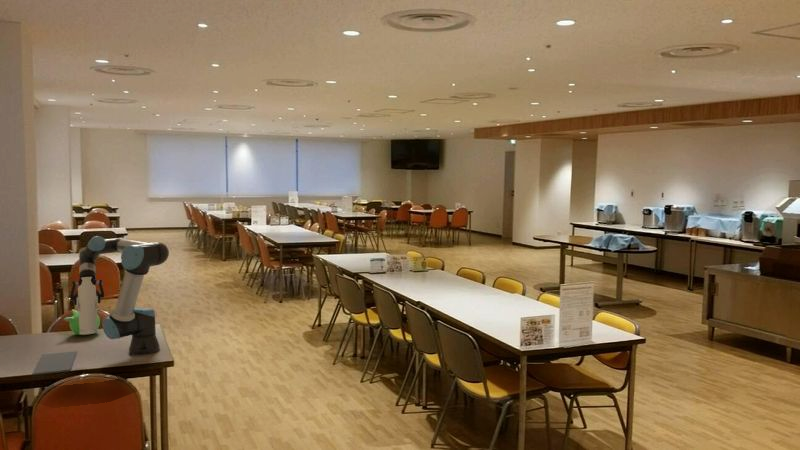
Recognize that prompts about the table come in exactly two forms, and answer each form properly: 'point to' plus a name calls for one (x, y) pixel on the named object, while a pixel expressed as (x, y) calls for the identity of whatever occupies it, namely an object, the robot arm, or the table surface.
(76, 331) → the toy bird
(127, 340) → the table surface
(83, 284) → the bottle
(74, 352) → the mat
